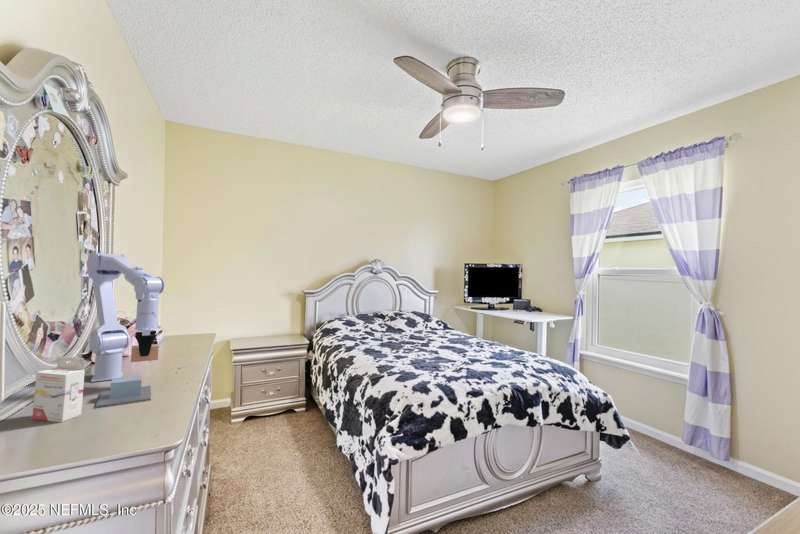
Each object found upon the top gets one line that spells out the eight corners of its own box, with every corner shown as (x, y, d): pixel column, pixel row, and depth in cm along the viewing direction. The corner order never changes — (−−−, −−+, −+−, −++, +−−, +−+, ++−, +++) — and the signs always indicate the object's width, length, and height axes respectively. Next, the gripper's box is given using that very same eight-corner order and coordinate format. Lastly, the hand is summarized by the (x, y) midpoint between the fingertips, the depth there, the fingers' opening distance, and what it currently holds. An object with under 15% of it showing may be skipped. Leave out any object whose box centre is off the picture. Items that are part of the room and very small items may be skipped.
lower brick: (111, 394, 100) (112, 379, 100) (140, 390, 104) (141, 376, 105) (109, 399, 97) (110, 383, 97) (140, 395, 101) (141, 379, 101)
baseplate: (101, 393, 103) (101, 391, 103) (150, 387, 110) (150, 385, 110) (95, 408, 91) (95, 405, 91) (150, 400, 99) (150, 398, 99)
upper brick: (131, 359, 111) (132, 345, 111) (157, 357, 115) (158, 344, 115) (130, 362, 107) (131, 348, 107) (157, 359, 111) (158, 346, 112)
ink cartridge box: (30, 420, 83) (35, 359, 83) (52, 412, 88) (57, 355, 88) (61, 423, 82) (66, 361, 83) (82, 415, 87) (87, 357, 88)
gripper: (162, 315, 108) (160, 357, 108) (161, 310, 120) (158, 349, 119) (135, 315, 104) (131, 360, 103) (136, 311, 116) (133, 351, 115)
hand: (144, 354), depth 111 cm, fingers closed on upper brick, 4 cm apart
